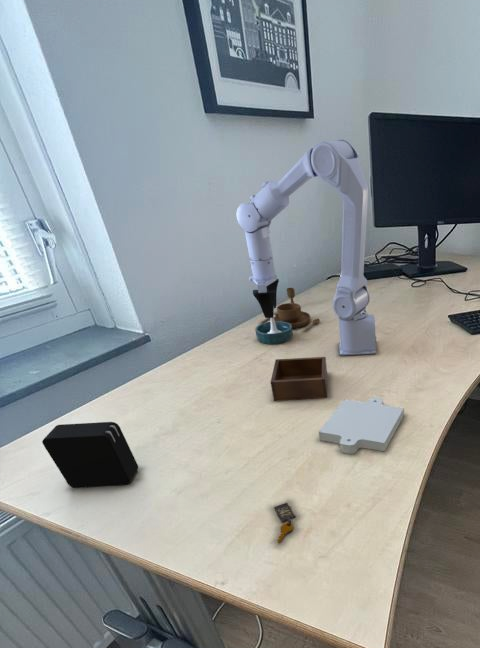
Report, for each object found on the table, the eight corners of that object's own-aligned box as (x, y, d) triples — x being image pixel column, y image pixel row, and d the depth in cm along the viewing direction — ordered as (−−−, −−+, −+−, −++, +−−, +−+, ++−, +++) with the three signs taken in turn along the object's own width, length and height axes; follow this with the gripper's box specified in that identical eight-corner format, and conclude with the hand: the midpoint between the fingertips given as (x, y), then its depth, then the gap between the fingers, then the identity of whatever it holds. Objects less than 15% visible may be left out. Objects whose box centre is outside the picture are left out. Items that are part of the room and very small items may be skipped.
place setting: (255, 325, 130) (250, 305, 127) (290, 305, 145) (287, 286, 141) (305, 333, 125) (302, 312, 121) (336, 311, 139) (335, 292, 136)
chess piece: (280, 340, 120) (273, 302, 114) (263, 338, 121) (256, 301, 115) (286, 333, 124) (280, 297, 118) (270, 332, 125) (263, 296, 118)
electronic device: (81, 473, 76) (53, 424, 69) (140, 469, 76) (117, 421, 70) (70, 488, 73) (39, 439, 66) (131, 484, 73) (106, 435, 67)
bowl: (294, 330, 127) (292, 320, 125) (292, 343, 119) (290, 333, 117) (259, 332, 126) (257, 322, 124) (255, 345, 119) (253, 334, 117)
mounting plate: (380, 459, 78) (379, 450, 76) (314, 447, 81) (313, 438, 80) (406, 410, 91) (407, 402, 90) (349, 401, 94) (348, 393, 93)
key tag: (274, 505, 68) (273, 502, 68) (293, 502, 69) (292, 499, 69) (277, 543, 62) (276, 540, 62) (298, 539, 63) (297, 536, 62)
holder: (327, 374, 104) (325, 356, 102) (327, 397, 96) (325, 378, 93) (278, 377, 104) (275, 359, 101) (274, 400, 95) (270, 382, 92)
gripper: (249, 252, 115) (259, 304, 124) (240, 266, 104) (252, 322, 113) (276, 251, 115) (284, 303, 124) (270, 264, 104) (279, 321, 113)
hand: (270, 312), depth 118 cm, fingers open, 7 cm apart
